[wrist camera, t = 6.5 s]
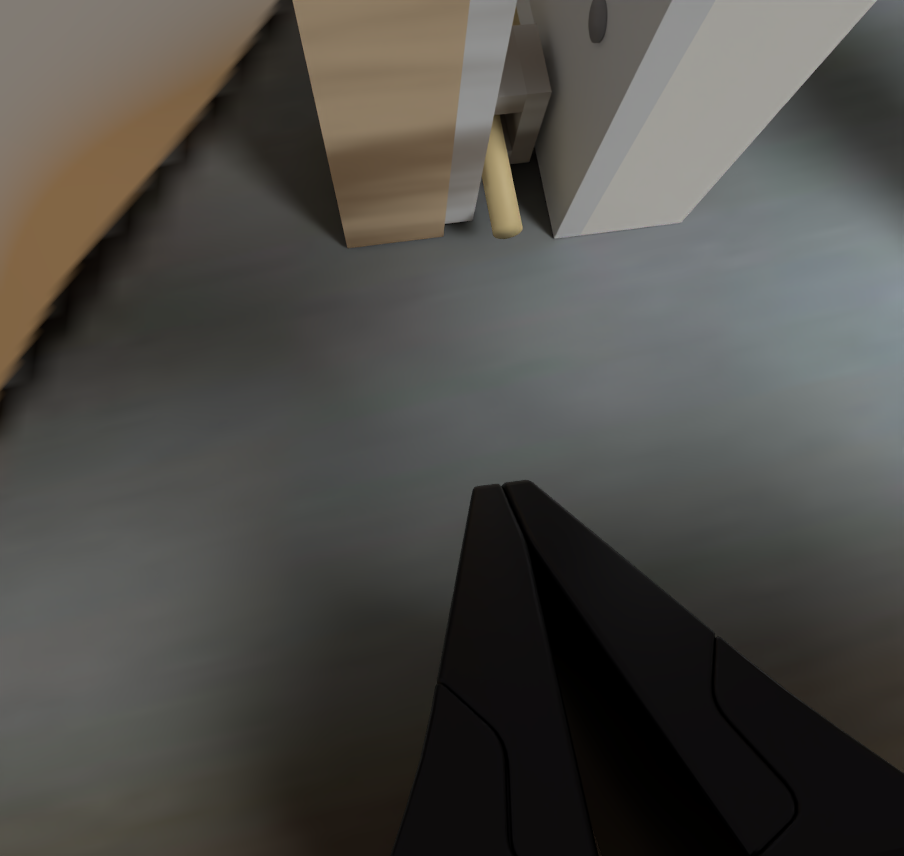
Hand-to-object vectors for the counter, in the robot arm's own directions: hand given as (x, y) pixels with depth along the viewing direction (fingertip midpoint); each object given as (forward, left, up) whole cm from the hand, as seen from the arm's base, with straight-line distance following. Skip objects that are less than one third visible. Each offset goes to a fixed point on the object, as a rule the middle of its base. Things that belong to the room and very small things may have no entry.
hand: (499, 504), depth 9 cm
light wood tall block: (+13, -2, -11) cm, 17 cm away
